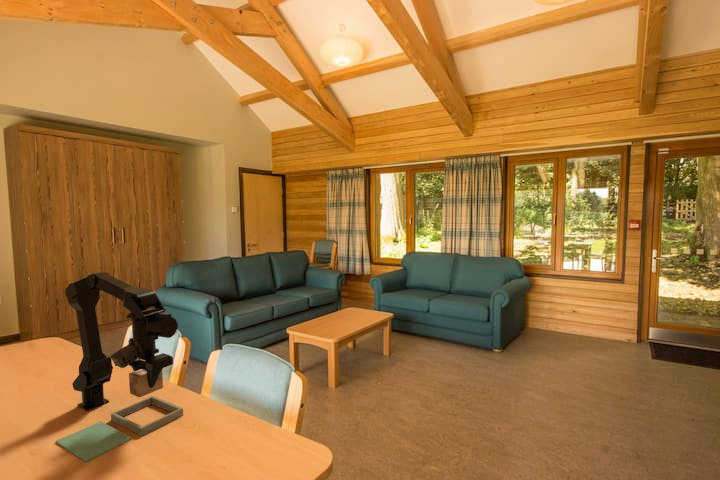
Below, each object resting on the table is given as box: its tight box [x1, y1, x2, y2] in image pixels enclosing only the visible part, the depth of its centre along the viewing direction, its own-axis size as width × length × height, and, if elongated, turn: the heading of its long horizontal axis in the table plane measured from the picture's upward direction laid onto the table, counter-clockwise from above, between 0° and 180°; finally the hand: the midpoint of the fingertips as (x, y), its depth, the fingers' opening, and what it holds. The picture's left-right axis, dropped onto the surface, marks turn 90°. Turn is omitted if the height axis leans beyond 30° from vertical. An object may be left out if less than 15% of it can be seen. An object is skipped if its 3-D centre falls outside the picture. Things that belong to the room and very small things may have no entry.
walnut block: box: [128, 369, 164, 398], centre depth 114 cm, size 5×7×6 cm
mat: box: [55, 420, 132, 463], centre depth 103 cm, size 16×11×1 cm
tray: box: [110, 395, 184, 437], centre depth 114 cm, size 16×13×2 cm
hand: (146, 385), depth 114 cm, fingers closed on walnut block, 5 cm apart
